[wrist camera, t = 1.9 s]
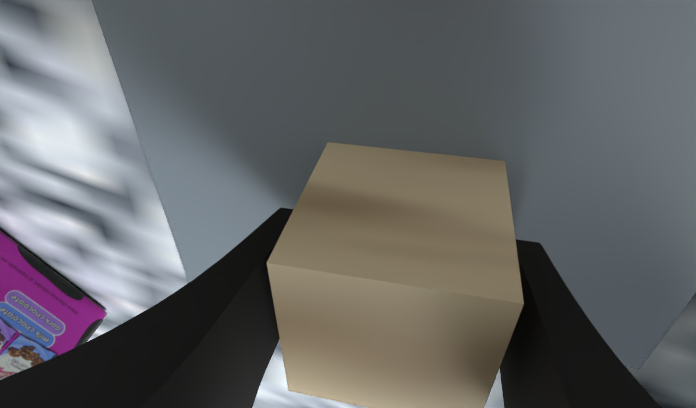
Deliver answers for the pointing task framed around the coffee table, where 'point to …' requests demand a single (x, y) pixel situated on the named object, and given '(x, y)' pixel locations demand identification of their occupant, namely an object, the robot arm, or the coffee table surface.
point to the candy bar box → (39, 311)
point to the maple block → (397, 279)
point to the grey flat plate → (435, 123)
